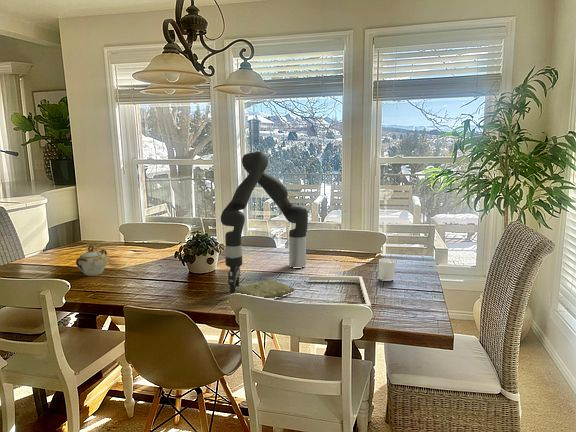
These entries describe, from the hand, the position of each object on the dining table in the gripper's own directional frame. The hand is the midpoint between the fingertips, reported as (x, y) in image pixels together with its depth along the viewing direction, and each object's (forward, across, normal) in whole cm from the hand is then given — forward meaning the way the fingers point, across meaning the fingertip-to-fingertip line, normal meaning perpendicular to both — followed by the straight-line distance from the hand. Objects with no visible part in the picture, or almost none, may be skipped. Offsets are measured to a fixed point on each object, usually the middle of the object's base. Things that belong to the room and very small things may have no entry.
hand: (234, 289), depth 186 cm
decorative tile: (+2, 0, +14) cm, 14 cm away
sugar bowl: (+2, -24, -80) cm, 83 cm away
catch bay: (+2, 0, +45) cm, 45 cm away
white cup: (+2, -23, +71) cm, 75 cm away
